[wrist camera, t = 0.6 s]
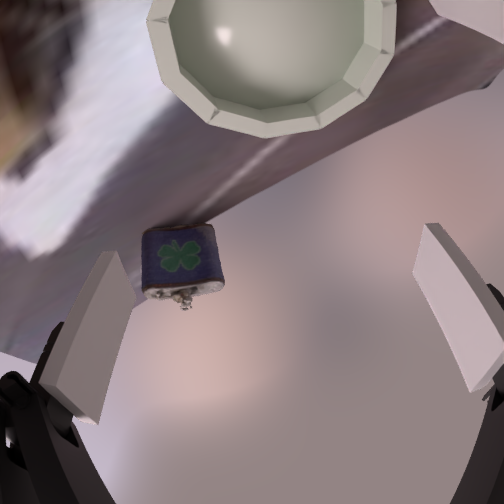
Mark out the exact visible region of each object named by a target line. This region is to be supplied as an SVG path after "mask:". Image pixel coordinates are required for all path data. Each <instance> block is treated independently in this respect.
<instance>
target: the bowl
mask: <svg viewBox="0 0 504 504" xmlns="http://www.w3.org/2000/svg"><path fill="white" fill-rule="evenodd" d="M395 2H396V0H153V3H152V6H151V8H150V11H149V14H148V16H147V19H146V20H147V21H146V23H147V27H148V31H149V35H150V39H151V43H152V47H153V51H154V55H155V59H156V62H157V66H158V70H159V73H160V77H161V81H162V82H163V84H164V85H165V86H166V87H167V88H169V89H170V90H171V91H172V92H173V93H174V94H175V95H176V96H178V97H179V98H180V99H181V100H182V101H183V102H184V103H185V104H186V105H188V106H189V107H190V108H191V109H192V110H193V111H194V112H195V113H196V114H197V115H198V116H200V117H201V118H202V119H203V120H204V121H205V122H206V123H208V124H210V125H214V126H219V127H223V128H227V129H231V130H235V131H239V132H242V133H246V134H250V135H254V136H257V137H261V138H271V137H276V136H282V135H287V134H293V133H299V132H305V131H311V130H318V129H320V127H321V128H323V127H325V126H326V125H328V124H329V123H331V122H332V121H334V120H335V119H337V118H339V117H340V116H342V115H343V114H345V113H346V112H348V111H349V110H351V109H352V108H354V107H356V106H357V105H359V104H360V103H362V102H363V101H365V100H366V99H367V98H368V96H369V95H370V93H371V92H372V90H373V88H374V87H375V85H376V84H377V82H378V80H379V79H380V77H381V76H382V74H383V72H384V71H385V69H386V67H387V66H388V64H389V63H390V61H391V59H392V58H393V55H394V49H395V33H396V9H397V4H396V3H395ZM392 54H393V55H392ZM365 98H366V99H365Z"/></svg>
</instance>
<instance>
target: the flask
mask: <svg viewBox="0 0 504 504" xmlns="http://www.w3.org/2000/svg"><path fill="white" fill-rule="evenodd" d="M142 234H143V236H142V242H141V243H142V248H141V249H142V255H141V257H142V292H143V294H144V296H145V297H147V298H148V299H157V300H164V299H173V300H174V301H176V302H177V303H181V307H187V306H190V305H191V302H192V298H191V297H192V296H199V295H203V294H208V293H212V292H217V291H220V290H221V289H222V288H223V287H224V285H225V280H224V276H223V273H222V269H221V262H220V259H219V253H218V247H217V243H216V237H215V230H214V228H213V226H212V225H211V224H206V223H197V225H180V226H179V225H178V226H176V227H173V228H169V227H166V228H164V229H161V228H157V229H147V230H146V231H144V232H143V233H142ZM190 308H192V307H191V306H190ZM181 310H185V311H186V310H188V308H181Z"/></svg>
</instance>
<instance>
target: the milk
mask: <svg viewBox="0 0 504 504" xmlns="http://www.w3.org/2000/svg"><path fill="white" fill-rule="evenodd" d="M429 2H430V3H431V5H432V6H433V8H434V10H435V11H436V13H437V14H438V15H439V16H442V17H445V18H447V19H450V20H452V21H455V22H457V23H460V24H462V25H465V26H467V27H469V28H472V29H474V30H476V31H478V32H480V33H483V34H485V35H487V36H489V37H491V38H493V39H495V40H497V41H499V42H501V43H502V44H504V0H429Z"/></svg>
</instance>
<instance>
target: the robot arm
mask: <svg viewBox="0 0 504 504" xmlns="http://www.w3.org/2000/svg"><path fill="white" fill-rule="evenodd" d="M412 274H413V275H414V277H415V279H416V281H417V283H418V284H419V286H420V288H421V290H422V292H423V293H424V295H425V297H426V299H427V301H428V303H429V304H430V307H431V309H432V311H433V313H434V314H435V317H436V319H437V321H438V322H439V325H440V326H441V329H442V330H443V333H444V335H445V337H446V339H447V341H448V343H449V345H450V348H451V350H452V352H453V354H454V356H455V359H456V361H457V363H458V366H459V368H460V370H461V372H462V375H463V377H464V380H465V382H466V385H467V387H468V389H469V392H473V391H476V390H478V389H481V388H483V387H485V386H486V385H487V384H488V383H489V381H490V380H491V379H492V378H493V380H494V383H495V384H494V385H493V387H492V388H491V389H490V390H489V391H488V392H487V393H486V394H485V395H484V397H483V399H482V400H483V401H485V399H487V398H488V396H489V395H490V397H489V400H488V405H487V409H486V412H485V415H484V419H483V423H482V425H481V429H480V432H479V435H478V438H477V441H476V444H475V446H474V449H473V452H472V454H471V457H470V460H469V463H468V465H467V467H466V470H465V472H464V474H463V477H462V479H461V481H460V484H459V486H458V488H457V490H456V492H455V494H454V496H453V499H452V500H451V503H450V504H504V297H503V296H502V294H501V293H500V292H499V291H498V290H497V289H496V288H495V287H494V286H493V285H491V284H485V282H484V281H483V279H482V278H481V276H480V275H479V274H478V273H477V271H476V270H475V268H474V267H473V266H472V264H471V263H470V261H469V260H468V259H467V257H466V256H465V255H464V254H463V252H462V251H461V250H460V248H459V247H458V246H457V245H456V243H455V242H454V241H453V240H452V238H451V237H450V236H449V235H448V233H447V232H446V231H445V230H444V229H443V228H442V226H441V225H440V224H439V223H428V224H424V229H423V233H422V237H421V242H420V245H419V250H418V253H417V258H416V261H415V265H414V269H413V272H412ZM135 300H136V295H135V293H134V291H133V288H132V286H131V284H130V282H129V279H128V277H127V275H126V273H125V270H124V268H123V266H122V263H121V261H120V258H119V256H118V253H117V251H108V252H102V253H101V254H100V256H99V258H98V259H97V261H96V263H95V265H94V267H93V268H92V270H91V272H90V274H89V276H88V277H87V279H86V281H85V283H84V285H83V287H82V289H81V291H80V292H79V294H78V296H77V298H76V300H75V302H74V304H73V306H72V308H71V310H70V312H69V314H68V316H67V318H66V320H65V322H60V323H59V324H58V325H57V326H56V327H55V328H54V330H53V331H52V332H51V334H50V336H49V339H48V341H47V344H46V345H45V347H44V350H43V353H42V354H41V356H40V359H39V361H38V363H37V366H36V368H35V370H34V373H33V375H32V378H31V380H30V383H28V382H27V381H26V380H25V379H24V378H23V377H22V376H21V375H20V374H19V373H18V372H16V371H10V372H8V373H6V374H5V375H4V376H2V377H1V379H0V504H116V503H115V502H114V500H113V498H112V497H111V495H110V493H109V492H108V490H107V488H106V486H105V485H104V483H103V481H102V479H101V478H100V476H99V474H98V472H97V470H96V468H95V466H94V464H93V463H92V460H91V458H90V456H89V454H88V452H87V451H86V448H85V446H84V444H83V442H82V440H81V437H80V435H79V433H78V431H77V428H76V426H75V425H74V423H73V422H72V418H73V415H74V416H75V417H76V418H78V419H79V420H80V421H81V422H85V423H90V424H95V425H98V424H99V420H100V416H101V412H102V408H103V404H104V400H105V396H106V393H107V389H108V385H109V382H110V378H111V375H112V371H113V368H114V365H115V361H116V358H117V355H118V351H119V348H120V345H121V342H122V339H123V335H124V332H125V329H126V326H127V323H128V320H129V317H130V315H131V312H132V309H133V306H134V303H135ZM6 439H7V440H8V441H10V448H9V447H7V446H6Z"/></svg>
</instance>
